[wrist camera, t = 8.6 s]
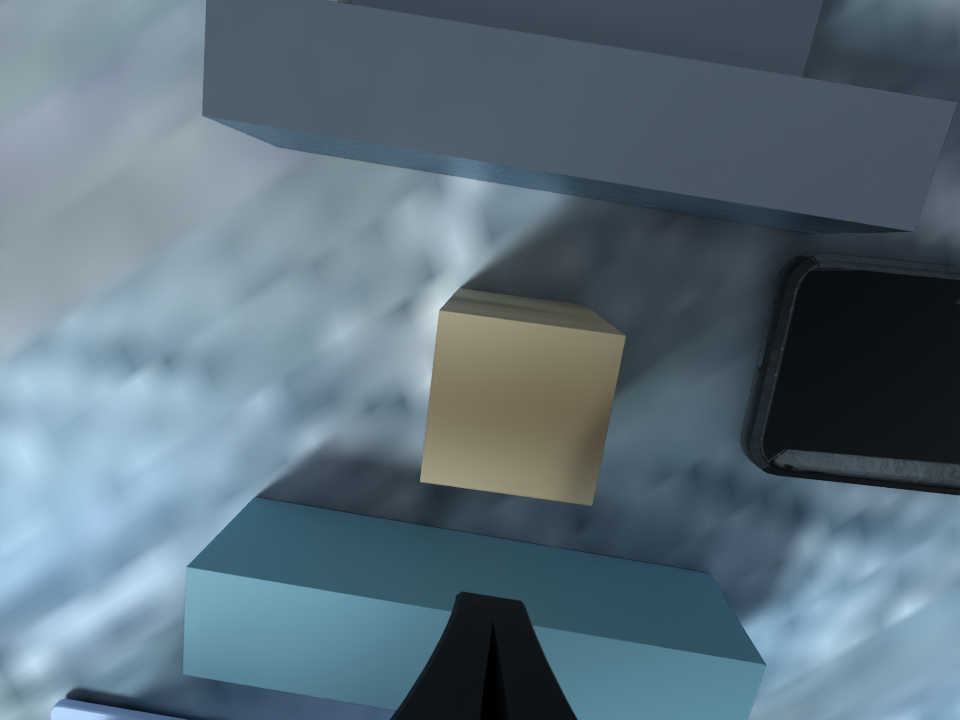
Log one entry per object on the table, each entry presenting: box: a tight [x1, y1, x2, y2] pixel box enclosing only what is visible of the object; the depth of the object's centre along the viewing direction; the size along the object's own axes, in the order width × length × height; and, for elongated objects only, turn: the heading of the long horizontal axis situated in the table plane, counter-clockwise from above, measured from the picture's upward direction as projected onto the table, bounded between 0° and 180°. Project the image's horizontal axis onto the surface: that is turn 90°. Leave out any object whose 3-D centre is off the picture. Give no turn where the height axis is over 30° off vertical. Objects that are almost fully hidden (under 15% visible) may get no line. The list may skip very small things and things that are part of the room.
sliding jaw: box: [183, 497, 766, 720], centre depth 19 cm, size 4×18×4 cm, turn 81°
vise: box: [202, 0, 958, 234], centre depth 14 cm, size 7×18×4 cm, turn 81°
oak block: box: [420, 288, 626, 506], centre depth 16 cm, size 4×4×6 cm
